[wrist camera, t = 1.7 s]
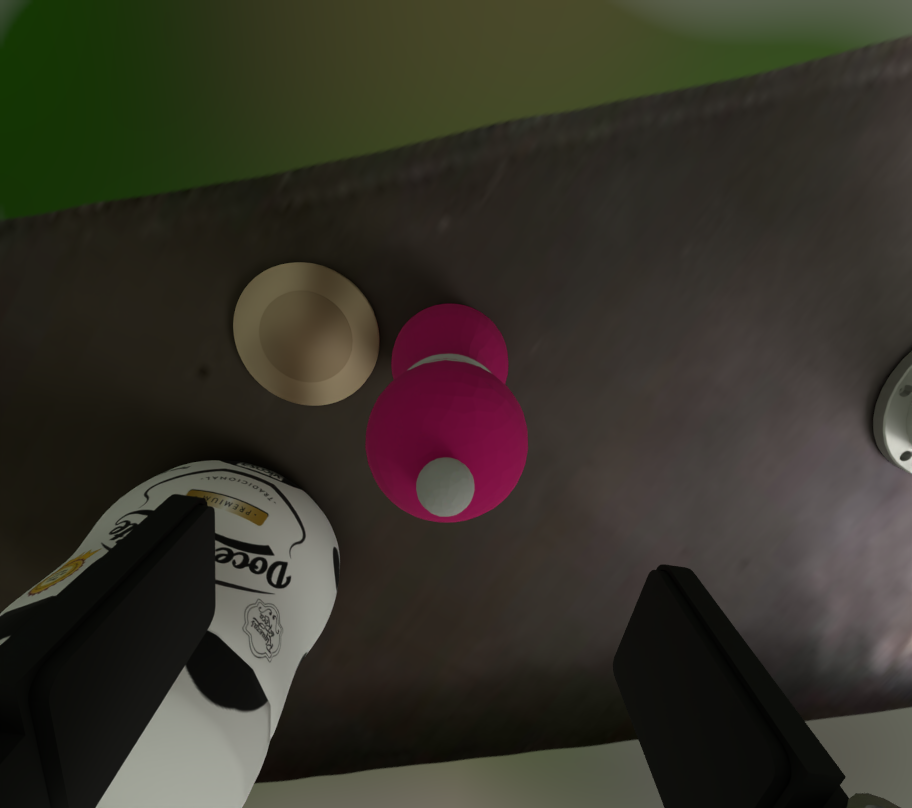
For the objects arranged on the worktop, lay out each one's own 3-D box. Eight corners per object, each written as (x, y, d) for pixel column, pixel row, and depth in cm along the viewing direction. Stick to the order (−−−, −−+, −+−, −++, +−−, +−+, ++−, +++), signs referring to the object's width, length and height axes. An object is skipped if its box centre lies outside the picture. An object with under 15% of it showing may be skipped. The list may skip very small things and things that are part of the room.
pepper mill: (383, 318, 30) (269, 436, 12) (480, 279, 30) (526, 340, 11) (423, 408, 33) (381, 628, 14) (514, 375, 32) (600, 561, 13)
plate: (388, 277, 30) (386, 278, 29) (371, 412, 33) (369, 416, 32) (238, 249, 29) (233, 249, 28) (236, 390, 32) (232, 393, 32)
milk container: (306, 420, 33) (151, 604, 16) (377, 594, 39) (317, 863, 22) (100, 471, 35) (-239, 688, 18) (198, 632, 40) (13, 912, 23)
